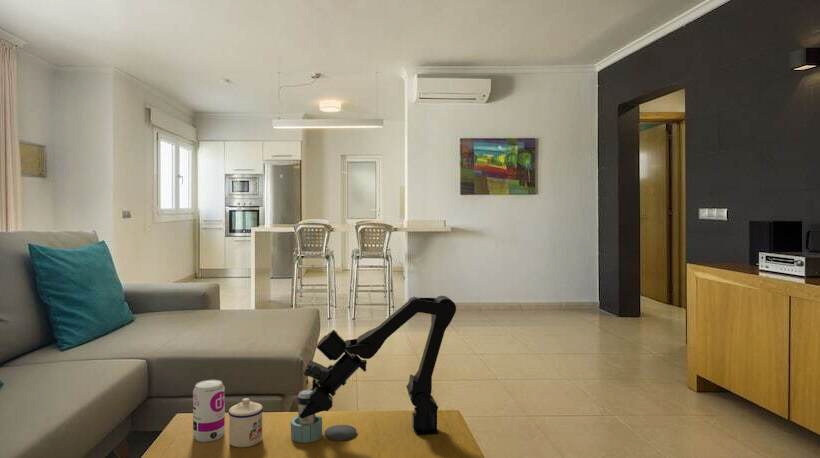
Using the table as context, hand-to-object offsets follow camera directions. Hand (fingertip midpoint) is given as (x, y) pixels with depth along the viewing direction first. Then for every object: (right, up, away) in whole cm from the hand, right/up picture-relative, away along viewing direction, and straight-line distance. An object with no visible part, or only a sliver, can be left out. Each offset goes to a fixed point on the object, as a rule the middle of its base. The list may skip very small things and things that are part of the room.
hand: (301, 411), depth 143 cm
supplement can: (-26, -7, 0) cm, 27 cm away
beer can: (+1, -7, 0) cm, 7 cm away
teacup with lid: (-15, -7, -1) cm, 16 cm away
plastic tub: (+1, -7, 0) cm, 7 cm away
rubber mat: (+11, -7, +2) cm, 13 cm away
